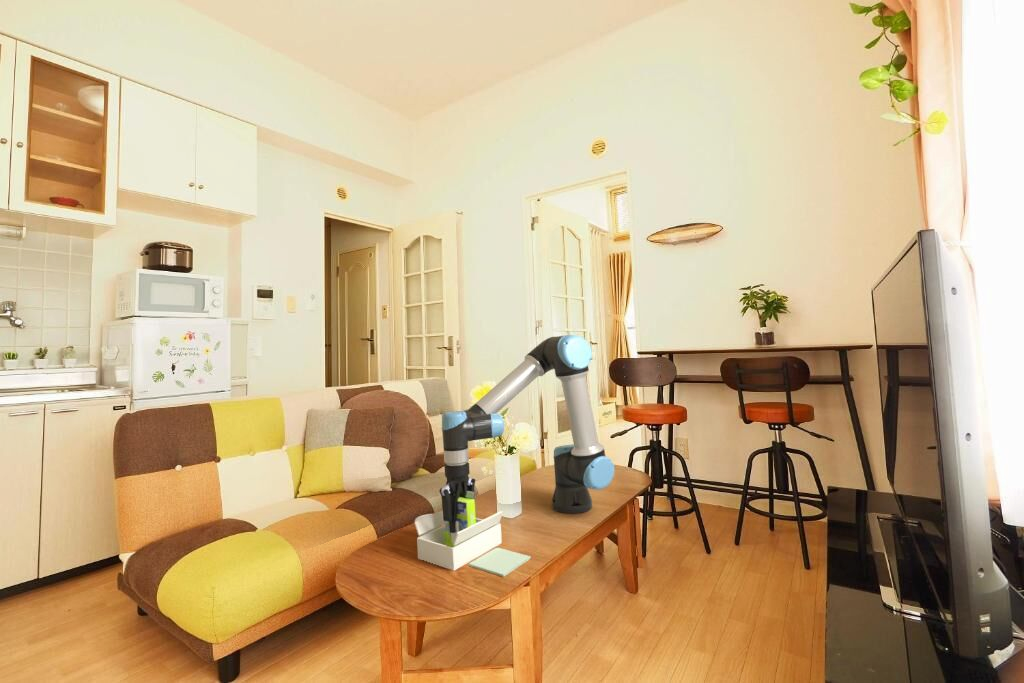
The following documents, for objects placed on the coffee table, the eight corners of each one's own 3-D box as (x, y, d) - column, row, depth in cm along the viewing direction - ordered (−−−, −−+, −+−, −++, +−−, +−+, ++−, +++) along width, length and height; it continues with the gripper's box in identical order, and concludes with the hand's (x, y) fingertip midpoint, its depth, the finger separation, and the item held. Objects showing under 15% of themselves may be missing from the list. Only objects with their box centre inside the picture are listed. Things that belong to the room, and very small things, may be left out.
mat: (496, 549, 140) (496, 547, 140) (530, 558, 132) (530, 556, 132) (468, 565, 130) (468, 563, 130) (503, 576, 122) (503, 574, 122)
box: (445, 547, 142) (441, 490, 143) (454, 542, 145) (451, 487, 146) (469, 555, 135) (465, 495, 136) (478, 549, 139) (475, 491, 139)
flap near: (498, 521, 144) (501, 510, 143) (499, 522, 144) (503, 511, 143) (453, 544, 128) (456, 532, 127) (454, 545, 128) (458, 533, 127)
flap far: (464, 514, 153) (460, 502, 154) (465, 514, 153) (461, 502, 154) (418, 535, 137) (413, 522, 138) (419, 535, 137) (414, 521, 138)
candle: (414, 535, 154) (413, 516, 155) (441, 530, 157) (440, 512, 157) (417, 545, 146) (416, 525, 146) (445, 540, 149) (444, 520, 149)
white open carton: (466, 533, 153) (465, 515, 153) (501, 543, 144) (500, 523, 144) (417, 558, 136) (416, 538, 136) (453, 570, 127) (452, 548, 128)
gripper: (466, 455, 150) (471, 527, 150) (427, 468, 136) (431, 547, 136) (484, 457, 146) (488, 532, 145) (445, 470, 132) (449, 553, 131)
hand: (461, 539), depth 140 cm, fingers closed on box, 4 cm apart
